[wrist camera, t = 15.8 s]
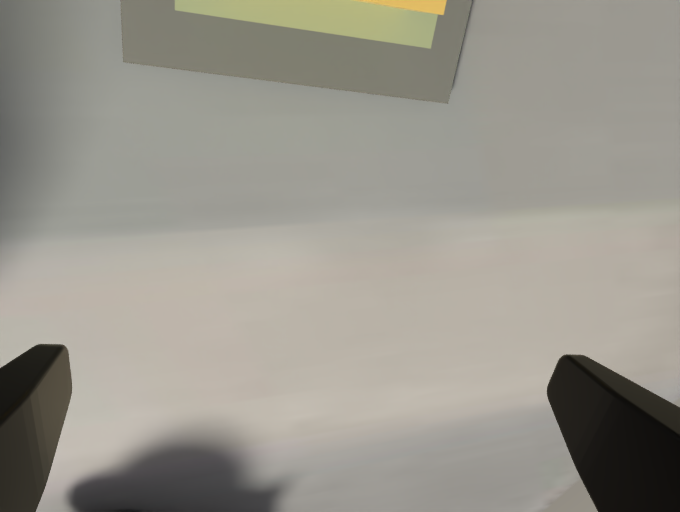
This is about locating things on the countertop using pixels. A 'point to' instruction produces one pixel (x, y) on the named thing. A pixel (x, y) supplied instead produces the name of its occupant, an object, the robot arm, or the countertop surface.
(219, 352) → the countertop surface
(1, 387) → the robot arm
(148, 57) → the baseplate
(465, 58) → the countertop surface
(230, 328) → the countertop surface
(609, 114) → the countertop surface
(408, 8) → the ochre brick
